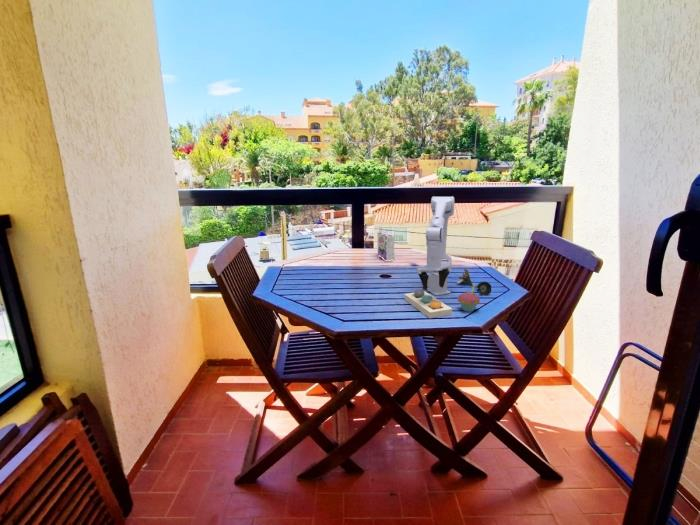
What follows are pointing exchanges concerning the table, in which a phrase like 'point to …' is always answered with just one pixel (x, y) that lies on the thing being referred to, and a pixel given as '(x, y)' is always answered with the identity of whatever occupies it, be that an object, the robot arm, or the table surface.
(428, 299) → the teal button
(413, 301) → the button panel
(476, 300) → the cupcake
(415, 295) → the grey button
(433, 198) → the robot arm
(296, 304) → the table surface
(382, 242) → the candy box
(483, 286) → the artificial flower
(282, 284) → the table surface
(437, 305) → the orange button
